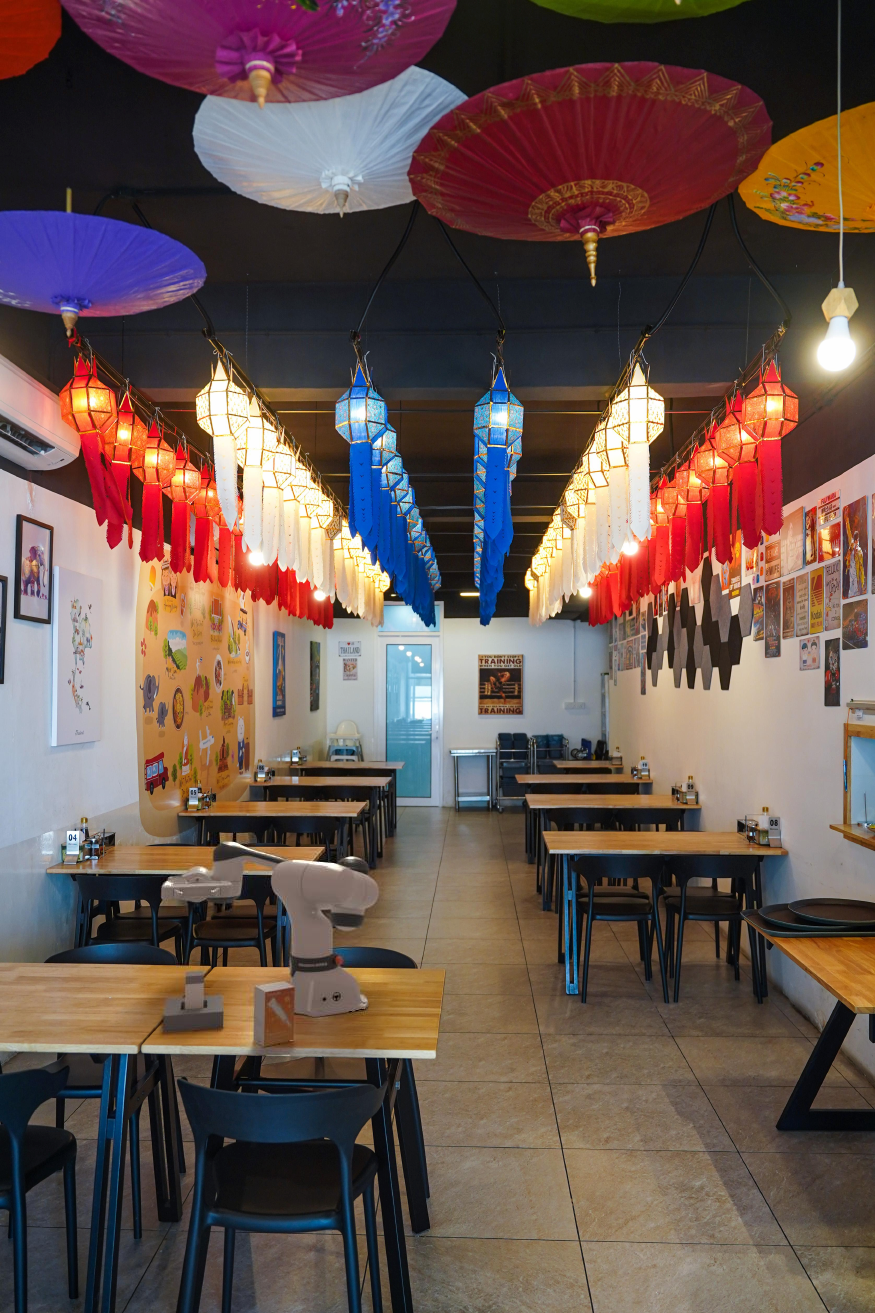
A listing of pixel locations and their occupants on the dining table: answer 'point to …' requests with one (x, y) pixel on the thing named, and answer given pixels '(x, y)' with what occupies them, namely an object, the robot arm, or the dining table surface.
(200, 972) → the plug
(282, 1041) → the small box
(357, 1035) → the dining table surface
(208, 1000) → the socket block
